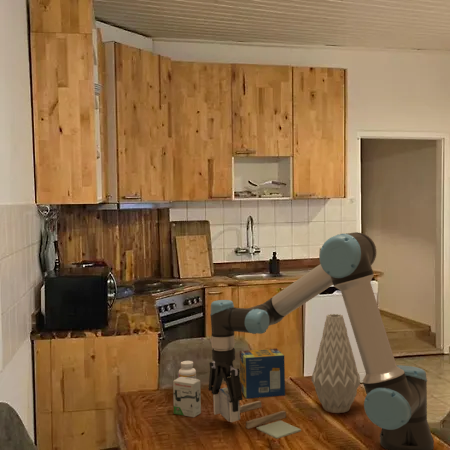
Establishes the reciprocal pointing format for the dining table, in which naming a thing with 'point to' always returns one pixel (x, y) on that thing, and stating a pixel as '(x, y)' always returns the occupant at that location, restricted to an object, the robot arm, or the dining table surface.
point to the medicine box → (226, 404)
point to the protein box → (262, 373)
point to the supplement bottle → (187, 370)
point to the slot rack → (262, 419)
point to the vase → (335, 367)
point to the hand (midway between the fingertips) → (225, 417)
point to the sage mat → (278, 429)
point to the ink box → (187, 396)
